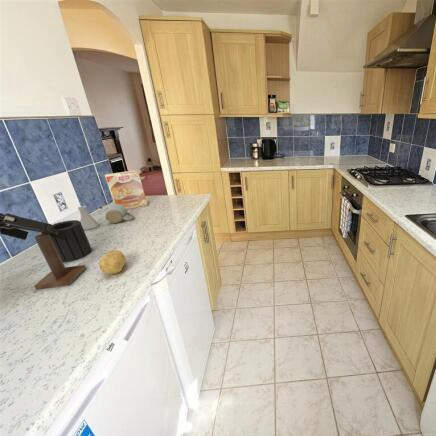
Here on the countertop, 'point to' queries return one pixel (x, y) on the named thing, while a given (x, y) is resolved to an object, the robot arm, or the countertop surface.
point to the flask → (87, 219)
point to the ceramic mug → (118, 213)
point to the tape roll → (71, 241)
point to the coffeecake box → (126, 189)
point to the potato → (112, 262)
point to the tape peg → (55, 265)
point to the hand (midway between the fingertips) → (45, 235)
